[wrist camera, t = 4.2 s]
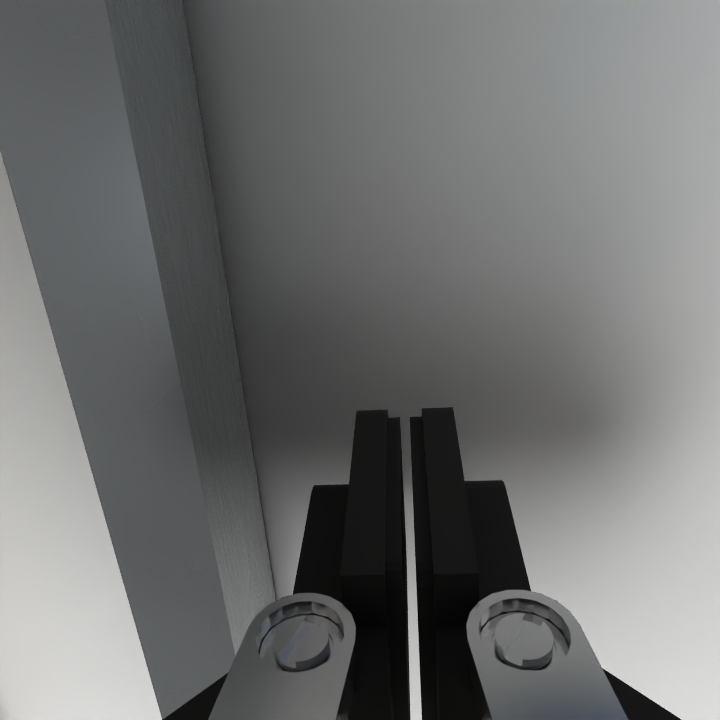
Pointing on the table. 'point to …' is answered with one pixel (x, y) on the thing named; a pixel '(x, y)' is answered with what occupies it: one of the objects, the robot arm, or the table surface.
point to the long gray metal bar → (140, 314)
